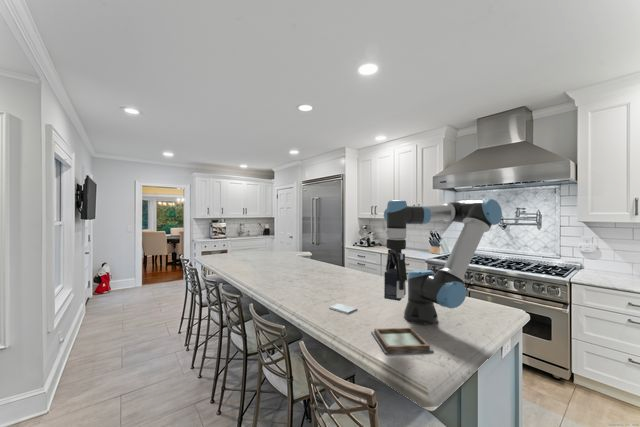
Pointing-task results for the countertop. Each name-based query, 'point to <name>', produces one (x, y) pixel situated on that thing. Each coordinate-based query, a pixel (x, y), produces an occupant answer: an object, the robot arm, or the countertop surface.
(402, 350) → the wooden picture frame
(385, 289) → the small box
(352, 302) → the countertop surface
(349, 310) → the hard drive
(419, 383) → the countertop surface
